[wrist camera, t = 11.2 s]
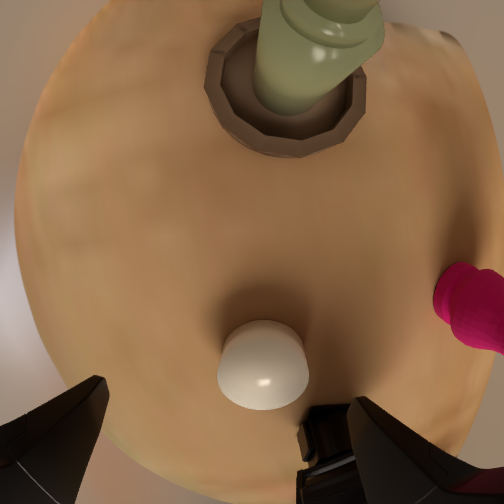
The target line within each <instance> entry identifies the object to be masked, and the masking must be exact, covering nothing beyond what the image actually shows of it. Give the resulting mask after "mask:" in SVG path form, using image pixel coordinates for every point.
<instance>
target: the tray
mask: <svg viewBox="0 0 504 504" xmlns="http://www.w3.org/2000/svg"><path fill="white" fill-rule="evenodd" d="M260 20H261V17H259V18H256V19H252V20H248V21H245V22H242V23H238V24H236V25H235V26H234V27H233V28H232V29H231V30H230V31H229V32H228V33H227V34H226V35H225V36H224V37H223V38H222V39H221V40H220V41H219V42H218V43H217V44H216V45H215V46H214V47H213V48H212V49H211V50H210V55H209V61H208V66H207V72H206V78H205V84H204V89H205V91H206V93H207V95H208V97H209V101H210V104H211V106H212V109H213V112H214V114H215V116H216V117H217V119H218V121H219V122H220V124H221V125H222V127H223V128H224V129H225V130H226V131H227V132H228V133H229V134H230V135H231V136H232V137H233V138H234V139H236V140H237V141H238V142H239V143H241V144H243V145H244V146H246V147H248V148H250V149H252V150H254V151H256V152H259V153H262V154H265V155H269V156H274V157H283V158H295V157H297V158H301V157H304V156H308V155H311V154H314V153H318V152H320V151H322V150H325V149H327V148H329V147H331V146H334V145H336V144H339V143H342V142H344V140H345V139H346V138H347V136H348V135H349V134H350V132H351V131H352V129H353V128H354V127H355V125H356V124H357V123H358V121H359V120H360V119H361V117H362V116H363V115H364V113H365V105H366V75H365V73H364V71H363V69H362V67H361V66H359V67H358V68H357V69H356V70H355V71H353V72H352V73H351V74H350V75H349V76H348V77H346V78H345V79H344V80H343V81H342V82H341V83H339V84H338V85H337V86H336V87H335V88H334V89H333V90H331V91H330V92H329V93H328V94H327V95H326V96H325V97H324V98H322V99H321V100H320V101H319V102H318V103H317V104H316V105H315V106H314V107H312V108H311V109H310V110H309V111H307V112H305V113H303V114H300V115H296V116H283V115H279V114H276V113H273V112H271V111H269V110H268V109H266V108H265V107H264V106H263V105H262V104H261V103H260V102H259V101H258V100H257V98H256V96H255V94H254V91H253V86H252V82H253V73H254V65H255V57H256V50H257V42H258V35H259V27H260Z"/></svg>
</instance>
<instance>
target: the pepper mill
mask: <svg viewBox="0 0 504 504" xmlns="http://www.w3.org/2000/svg"><path fill="white" fill-rule="evenodd" d="M433 305H434V310H435V312H436V314H437V315H438V316H439V317H440V318H441V319H442V320H444V321H445V322H446V323H447V324H450V325H451V329H452V332H453V334H454V336H455V337H456V338H457V339H458V340H459V341H461V342H462V343H464V344H465V345H467V346H470V347H473V348H478V349H486V350H493V351H496V352H498V353H501V354H502V355H504V278H503V277H502V276H501V275H499V274H498V273H497V272H495V271H494V270H491V269H482V270H478V269H477V268H476V267H474V266H472V265H470V264H468V263H465V262H458V263H455V264H453V265H452V266H450V267H449V268H448V269H447V270H446V271H445V272H444V274H443V275H442V277H441V278H440V280H439V282H438V284H437V286H436V290H435V293H434V300H433Z"/></svg>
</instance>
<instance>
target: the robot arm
mask: <svg viewBox="0 0 504 504" xmlns="http://www.w3.org/2000/svg"><path fill="white" fill-rule="evenodd" d="M108 401H109V390H108V386H107V382H106V379H105V378H104V377H101V376H98V375H93V376H91V377H90V378H88V379H86V380H85V381H83V382H81V383H79V384H78V385H76V386H74V387H72V388H71V389H69V390H67V391H66V392H64V393H62V394H60V395H58V396H57V397H55V398H53V399H51V400H50V401H48V402H46V403H45V404H42V405H41V406H39V407H37V408H35V409H34V410H32V411H30V412H28V413H27V414H24V415H22V416H21V417H19V418H17V419H15V420H13V421H11V422H9V423H6V424H4V425H2V426H0V504H75V500H76V497H77V494H78V491H79V488H80V485H81V482H82V479H83V476H84V474H85V471H86V467H87V465H88V462H89V460H90V457H91V454H92V452H93V449H94V446H95V444H96V441H97V438H98V436H99V433H100V430H101V427H102V423H103V419H104V415H105V412H106V408H107V405H108ZM297 436H298V442H299V446H300V451H301V456H302V460H303V461H304V462H308V466H309V468H307V469H304V470H303V469H302V470H299V471H297V478H296V504H504V467H499V468H492V469H480V468H477V467H474V466H472V465H470V464H468V463H466V462H464V461H462V460H459V459H458V458H456V457H454V456H452V455H450V454H448V453H446V452H445V451H443V450H441V449H440V448H438V447H437V446H435V445H434V444H432V443H431V442H428V441H427V440H426V439H425V438H423V437H422V436H420V435H419V434H417V433H416V432H414V431H413V430H411V429H410V428H409V427H407V426H406V425H404V424H403V423H401V422H400V421H399V420H397V419H396V418H394V417H393V416H392V415H390V414H389V413H387V412H386V411H385V410H383V409H382V408H381V407H379V406H378V405H377V404H375V403H374V402H372V401H371V400H370V399H368V398H367V397H365V396H360V397H355V398H354V399H353V401H352V403H351V404H342V405H329V406H313V407H311V408H309V410H308V413H307V416H306V418H305V421H303V422H302V424H301V427H300V429H299V432H298V434H297Z"/></svg>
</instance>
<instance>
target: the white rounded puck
mask: <svg viewBox="0 0 504 504" xmlns="http://www.w3.org/2000/svg"><path fill="white" fill-rule="evenodd" d="M217 381H218V384H219V387H220V389H221V391H222V392H223V393H224V395H225V396H226V397H227V398H229V399H230V400H231V401H233V402H234V403H236V404H238V405H240V406H243V407H246V408H250V409H255V410H270V409H276V408H280V407H283V406H285V405H288V404H290V403H292V402H293V401H295V400H296V399H297V398H298V397H300V395H301V394H302V393H303V392H304V390H305V389H306V387H307V385H308V381H309V370H308V366H307V361H306V356H305V352H304V347H303V344H302V341H301V339H300V337H299V336H298V334H297V333H296V332H295V331H294V330H293V329H291V328H290V327H288V326H287V325H285V324H283V323H280V322H277V321H272V320H255V321H250V322H247V323H245V324H243V325H241V326H239V327H237V328H236V329H235V330H234V331H232V332H231V333H230V335H229V336H228V337H227V339H226V341H225V343H224V346H223V350H222V355H221V359H220V363H219V367H218V372H217Z"/></svg>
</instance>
